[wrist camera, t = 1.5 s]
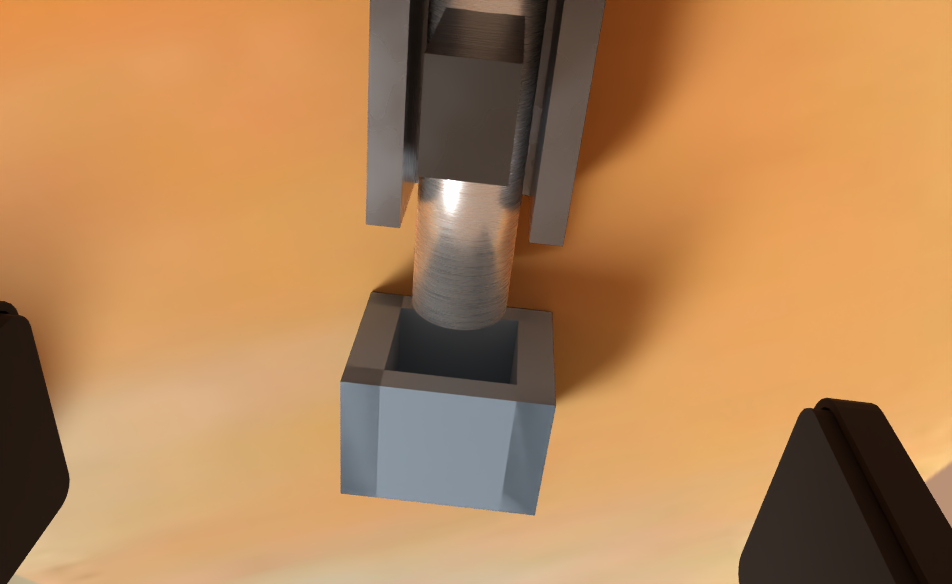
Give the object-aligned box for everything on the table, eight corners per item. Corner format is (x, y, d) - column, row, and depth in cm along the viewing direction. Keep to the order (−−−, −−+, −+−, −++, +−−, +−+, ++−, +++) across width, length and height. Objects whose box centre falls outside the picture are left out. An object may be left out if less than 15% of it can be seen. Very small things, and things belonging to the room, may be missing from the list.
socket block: (371, 291, 34) (340, 381, 29) (552, 312, 34) (555, 405, 29) (368, 394, 37) (340, 493, 32) (534, 413, 37) (534, 515, 32)
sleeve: (400, -173, 25) (372, -172, 21) (613, -149, 25) (630, -144, 20) (388, 169, 31) (366, 224, 27) (558, 188, 31) (562, 246, 27)
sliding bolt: (440, -96, 25) (399, -60, 17) (556, -83, 25) (568, -41, 17) (418, 273, 32) (382, 416, 24) (507, 283, 32) (500, 429, 24)
